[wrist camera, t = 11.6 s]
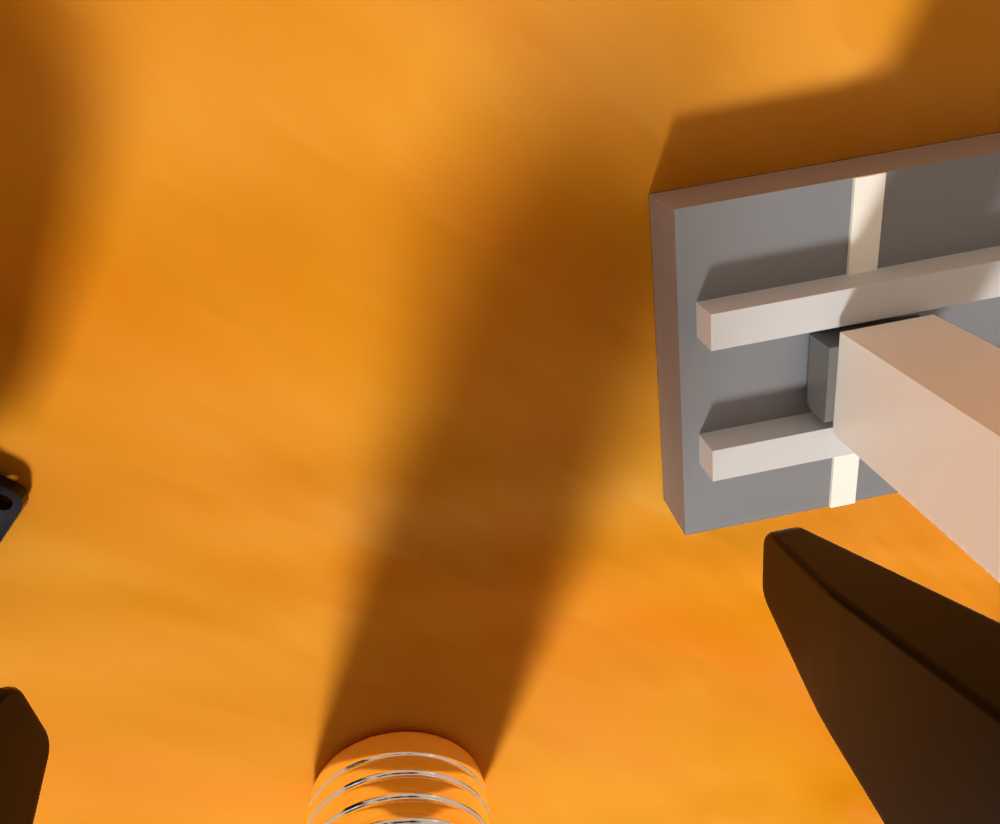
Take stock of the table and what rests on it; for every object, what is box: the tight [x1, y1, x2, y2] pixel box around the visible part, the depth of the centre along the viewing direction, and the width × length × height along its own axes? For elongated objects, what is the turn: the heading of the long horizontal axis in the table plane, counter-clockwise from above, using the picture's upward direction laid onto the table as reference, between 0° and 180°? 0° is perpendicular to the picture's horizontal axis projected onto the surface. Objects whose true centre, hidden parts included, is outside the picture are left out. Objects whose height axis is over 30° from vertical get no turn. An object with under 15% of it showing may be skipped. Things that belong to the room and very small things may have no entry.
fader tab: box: [806, 314, 1000, 583], centre depth 16 cm, size 3×3×10 cm
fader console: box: [649, 132, 1000, 535], centre depth 22 cm, size 18×10×3 cm, turn 98°
